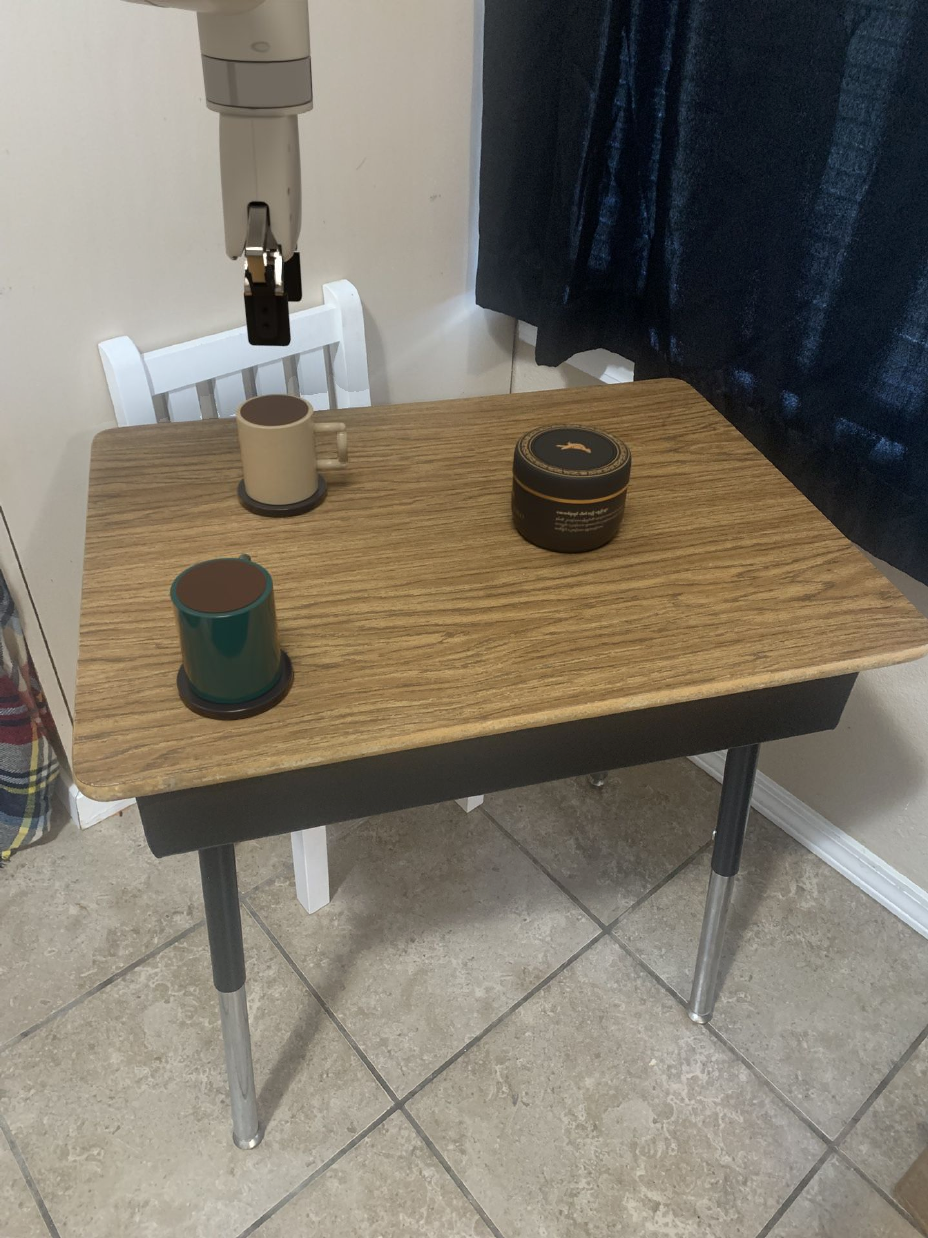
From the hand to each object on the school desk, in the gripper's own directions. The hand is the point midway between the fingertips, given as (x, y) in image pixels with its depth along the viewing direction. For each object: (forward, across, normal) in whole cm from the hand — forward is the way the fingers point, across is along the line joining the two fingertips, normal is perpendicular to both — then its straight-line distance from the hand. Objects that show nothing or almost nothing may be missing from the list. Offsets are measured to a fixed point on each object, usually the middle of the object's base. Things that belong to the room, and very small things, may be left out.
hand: (277, 321), depth 79 cm
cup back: (+15, 0, +1) cm, 15 cm away
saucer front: (+16, +25, -1) cm, 30 cm away
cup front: (+16, +24, -1) cm, 29 cm away
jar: (+16, +5, +25) cm, 30 cm away
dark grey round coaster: (+16, 0, -1) cm, 16 cm away
